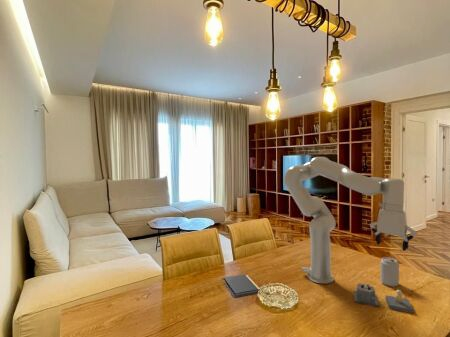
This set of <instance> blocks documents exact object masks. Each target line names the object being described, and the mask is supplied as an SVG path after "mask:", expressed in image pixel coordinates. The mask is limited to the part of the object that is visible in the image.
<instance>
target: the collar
mask: <svg viewBox="0 0 450 337" xmlns="http://www.w3.org/2000/svg"><path fill="white" fill-rule="evenodd" d="M364 286H367V287H368V290H365V289H363V287H364ZM356 291H357V298H359V299H361V300H362V301H366V302H373V301H375V294H376V289H375V287H374V286H372V285H370V284H367V283H359V284H356Z"/></svg>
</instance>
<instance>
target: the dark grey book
mask: <svg viewBox="0 0 450 337" xmlns="http://www.w3.org/2000/svg"><path fill="white" fill-rule="evenodd" d="M221 278H222V280H225V282H226V283H223V285H224V284H225V285H226V286H225V285H224V286H225V287H226V289H227V288H228V289H227V291H228V292H229V291H230V292H229V293H230V295H231V296H232V298H234V299H239V298H245V297H249V296H254V295H258V294H257V293H258V291H259V289H261V288H260V287H259V285H258V284H256V282H255V281H254V280H253V279H252V278H251V277H250V276H249V275H248V274H238V275H232V276H227V277H226V276H225V277H221ZM222 280H221V281H222ZM244 296H245V297H244Z"/></svg>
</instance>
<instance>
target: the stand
mask: <svg viewBox="0 0 450 337" xmlns="http://www.w3.org/2000/svg"><path fill="white" fill-rule="evenodd" d="M363 289H365V290H368V287H367V286H364V287H363ZM353 299H354V303H355V304H360V305H366V306H371V307H375V308H380V303H379V302H380V301H379V299H378V296H377V294H376V293H375V301H373V302H366V301H362V300H361V299H359V298H357V290H353Z"/></svg>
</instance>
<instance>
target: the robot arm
mask: <svg viewBox="0 0 450 337" xmlns="http://www.w3.org/2000/svg"><path fill="white" fill-rule="evenodd" d="M318 176H322V177H323V178H327V179H329V180H331V181H334V182H337V183H338V184H340V185H342V186H344V187H346V188H348V189H351V190H353V191H355V192H357V193H361V194H363V195H365V196H375V195H377V194H382V202H379V203H378V207H381V208H380V209H379V213H378V217H377V221H375V222H374V221H373V222H370V223H369V227H370V228H371V231H372V232H373V233H374V235H375V242H376V244H377V245H380V244H381V243H382V234H387V235H391V236H395V237H396V236H397V237H401V238H402V239H403V240H402V251H404V252H405V251H406V250H408V249H409V241H411V240H413V238H414V237H415V236H416V235H417V234H418V231H416V230H415V229H413V228H412V227H409V226H408V225H407V222H408V221H407V216H406V211H405V210H404V201H405V199H404V198H405V182H404V181H405V180H403V179H401V178H391V177H390V178H385V177H378V176H372V177H371V176H370V177H368V176H366V175H363V174H361V173H357V172H355V171H353V170H352V169H350V168H349V167H348V166H346V165H344V164H342V163H338V162H335V161H332V160H330V159H329V158H328V157H326V156H315V157H313V158H312V159H311V160H310V162H306V163H305V164H301V165H300V164H299V165H298V164H297V165H292V166H290V167H289V168H288V169H287V170H286V172H285V174H284V179H283V180H284V184H285V187H286V189H287V190H288V191H287V192H289V194H290V195H291V197H292V198H293V200H294V202H295V204H296V205H297V207H298V209H299V210H300V212H301V213H302V215H303V216H306V217H313V219H311V221H310V223H309V227H308V230H309V237H310V267H305V266H302V267H301V271H302V272H303V273H304V274H307V278H308V279H309V280H310V281H311V282H314V283H315V284H316V283H317V284H321V285H328V284H332V283H334V281H335V277H334V276H333V274H332V270H331V268H332V266H331V265H332V264H331V260H332V258H331V256H332V255H331V254H332V253H331V251H332V249H331V248H332V246H331V244H332V243H331V237H330V236H331V235H330V233H331V232H332V231H333V230H334V229H335V227H336V225H337V224H336V219H335V217H334V216H333V214H332V212H331V211H330V209H329V208H328V207H327V205H326V204H325V202H324V201H323V200H322V198H320V197H318V196H314V195H313V196H312V195H311V193H310V192H309V191H308V189H307V187H306V186H305V185H303V183H302V182H303V181H308V180H309V179H313V178H316V177H318ZM408 232H409V233H410V235H409V236H408V235H407V233H408Z"/></svg>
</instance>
